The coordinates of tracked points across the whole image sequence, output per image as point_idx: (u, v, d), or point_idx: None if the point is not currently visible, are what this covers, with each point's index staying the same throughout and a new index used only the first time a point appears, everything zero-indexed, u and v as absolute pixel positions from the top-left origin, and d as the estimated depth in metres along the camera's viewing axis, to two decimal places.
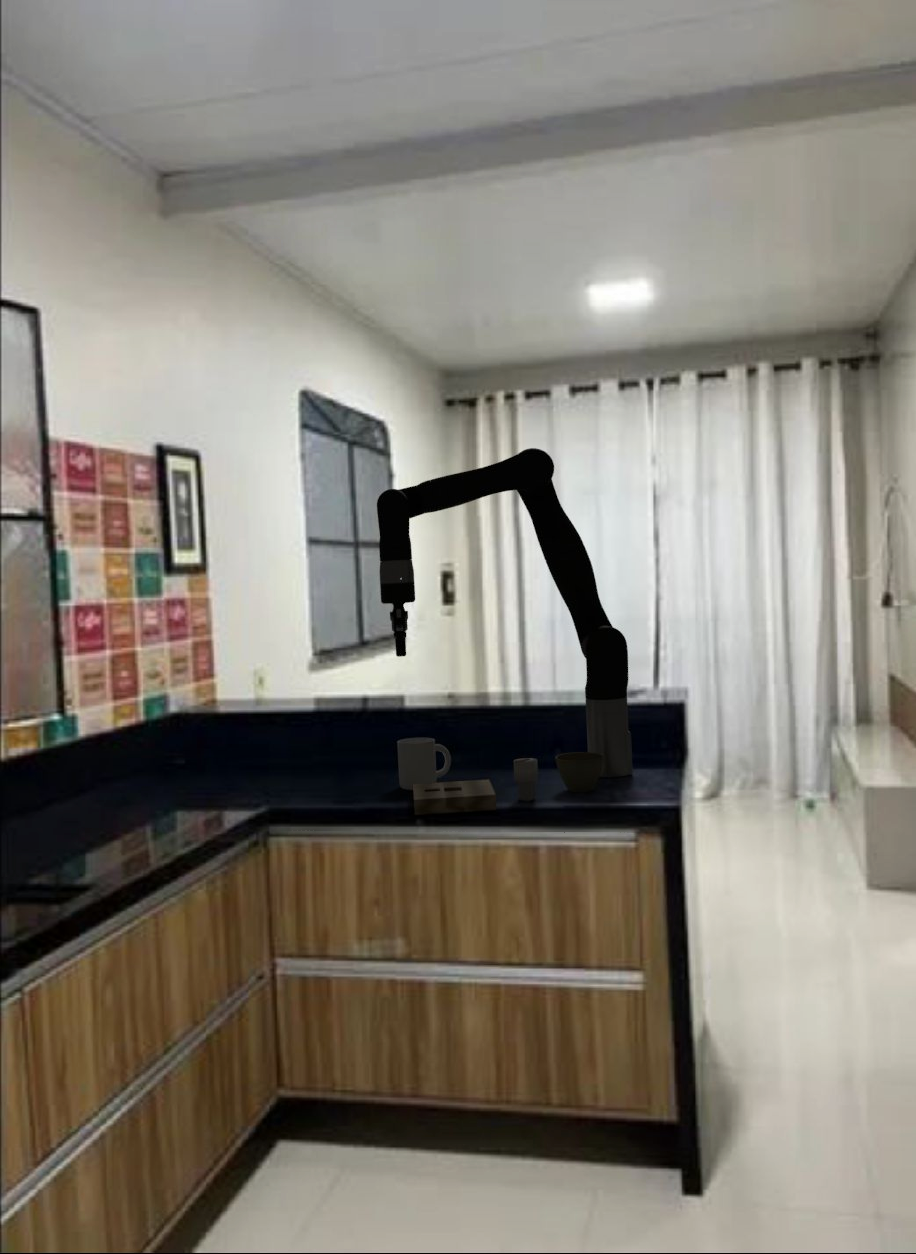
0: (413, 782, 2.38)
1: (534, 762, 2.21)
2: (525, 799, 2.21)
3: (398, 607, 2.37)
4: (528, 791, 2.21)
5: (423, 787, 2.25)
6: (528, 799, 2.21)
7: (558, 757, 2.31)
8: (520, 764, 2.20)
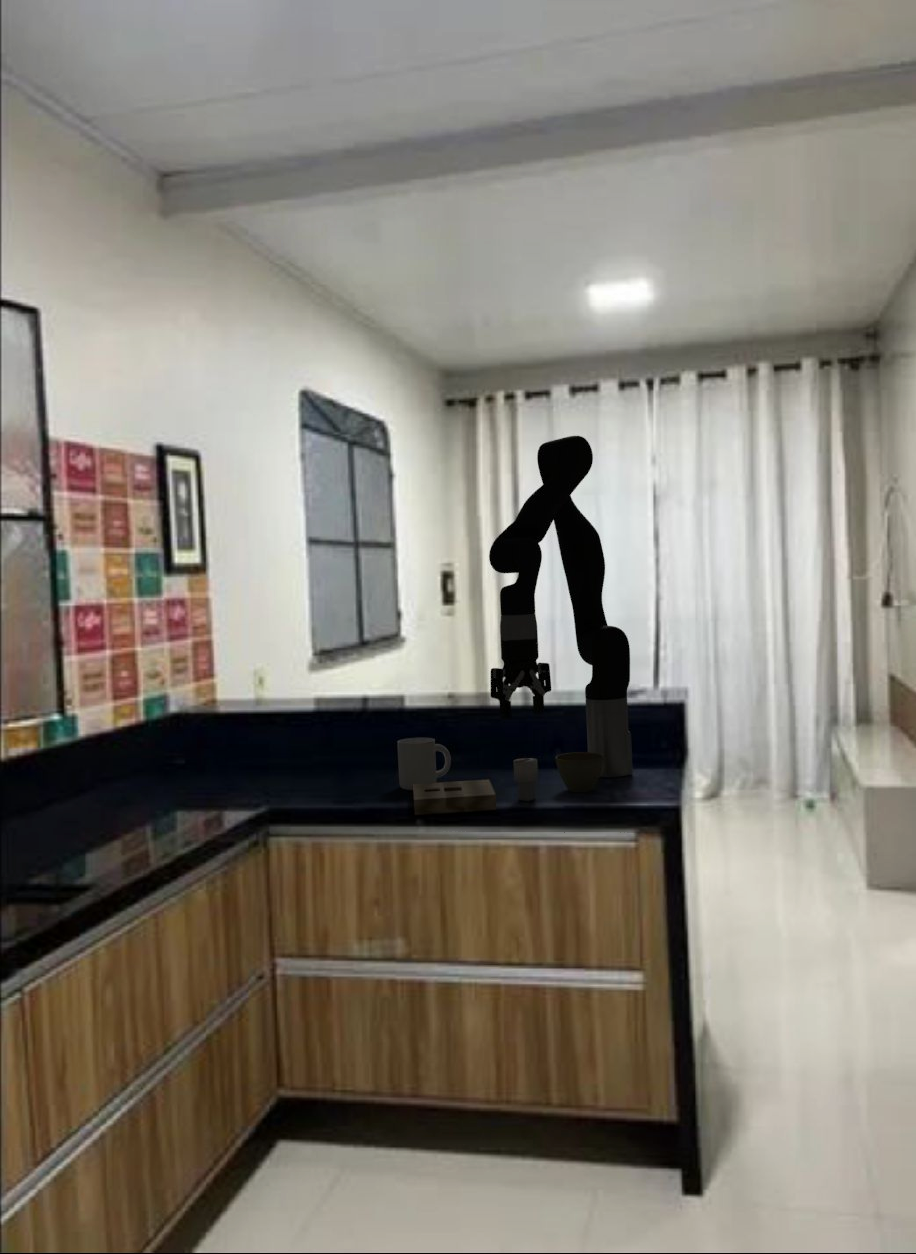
0: (413, 782, 2.38)
1: (534, 762, 2.21)
2: (525, 799, 2.21)
3: None
4: (528, 791, 2.21)
5: (423, 787, 2.25)
6: (528, 799, 2.21)
7: (558, 757, 2.31)
8: (520, 764, 2.20)
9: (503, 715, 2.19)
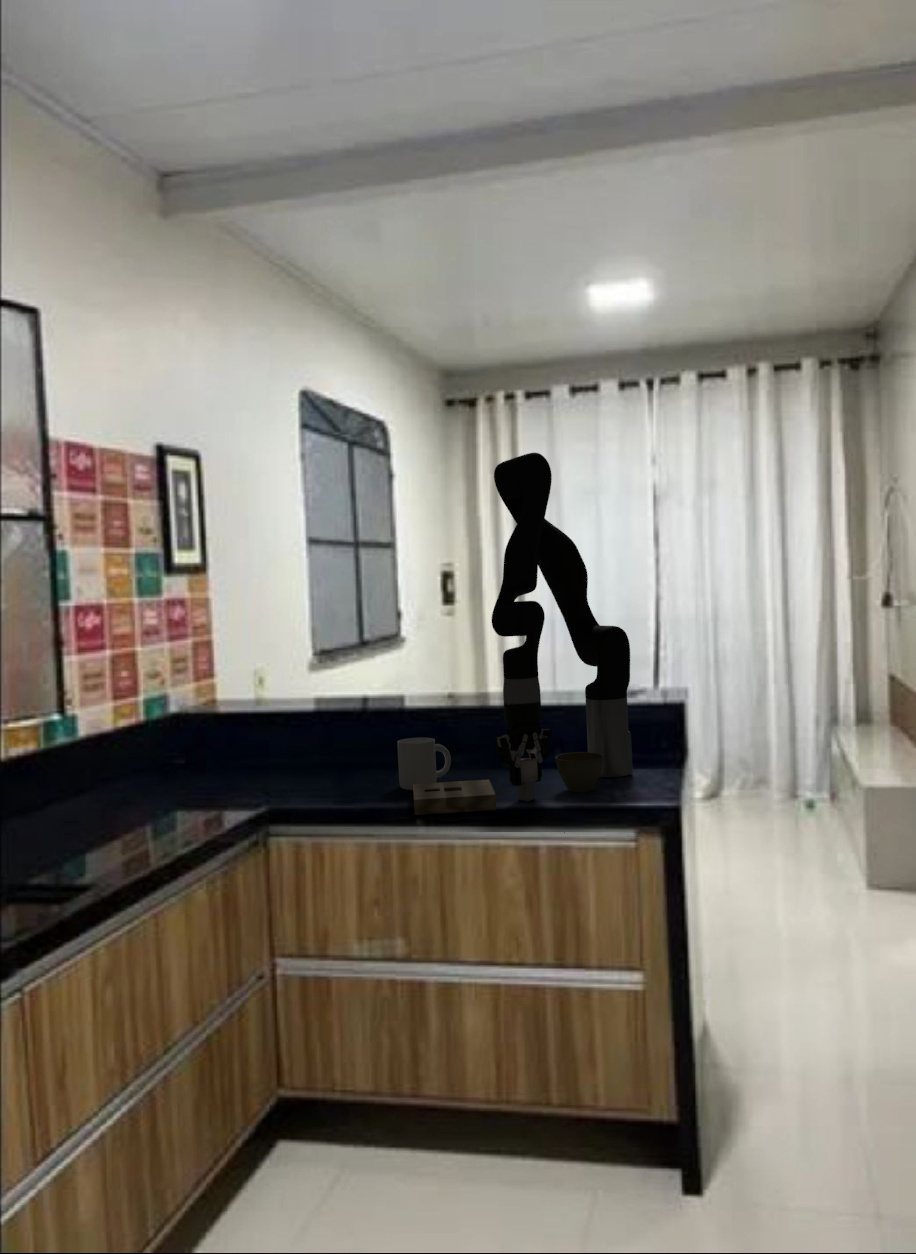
0: (413, 782, 2.38)
1: (534, 762, 2.21)
2: (525, 799, 2.21)
3: None
4: (528, 791, 2.21)
5: (423, 787, 2.25)
6: (528, 799, 2.21)
7: (558, 757, 2.31)
8: (520, 764, 2.20)
9: (513, 781, 2.20)
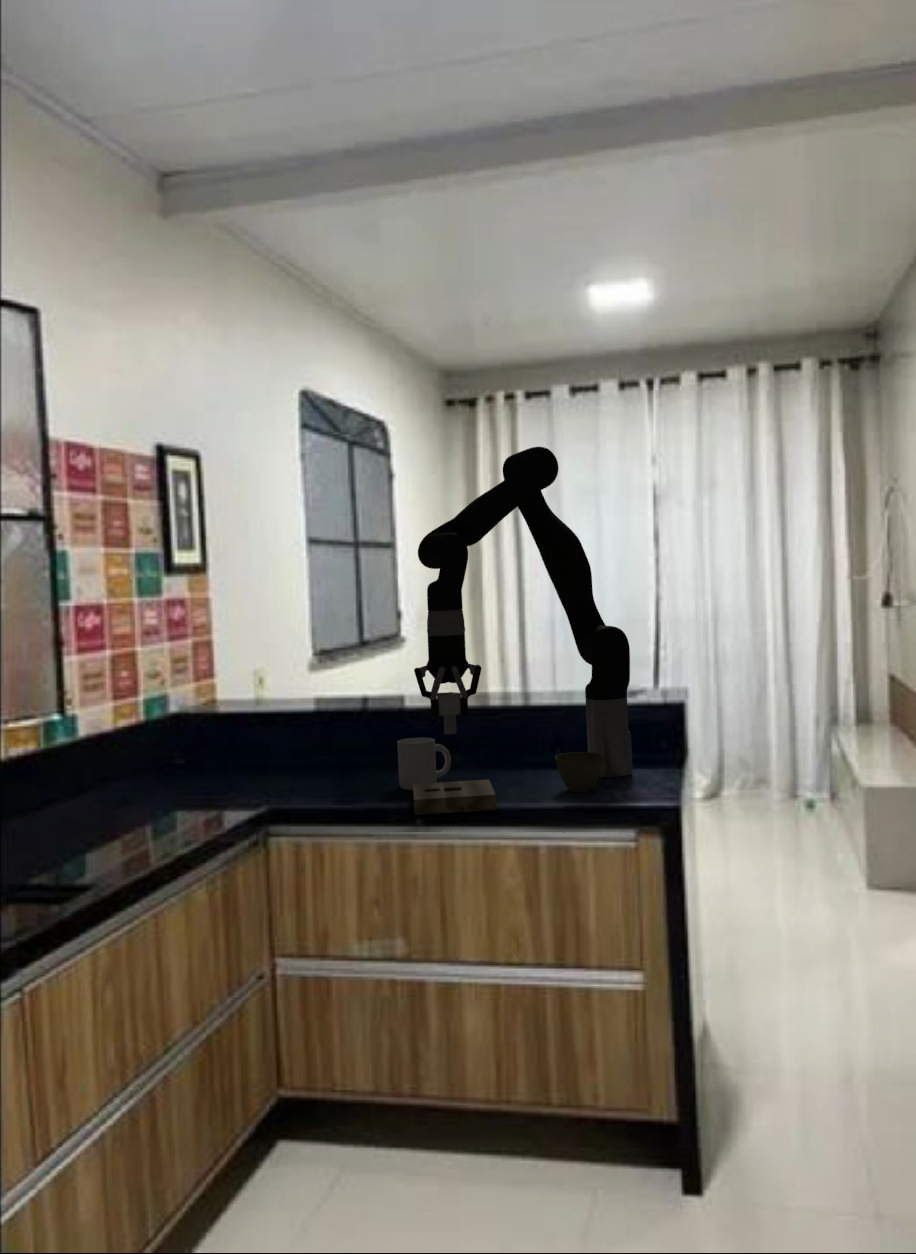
0: (413, 782, 2.38)
1: (451, 696, 2.19)
2: (444, 732, 2.20)
3: (467, 661, 2.21)
4: (447, 724, 2.20)
5: (423, 787, 2.25)
6: (447, 733, 2.20)
7: (558, 757, 2.31)
8: (438, 696, 2.20)
9: (431, 713, 2.21)
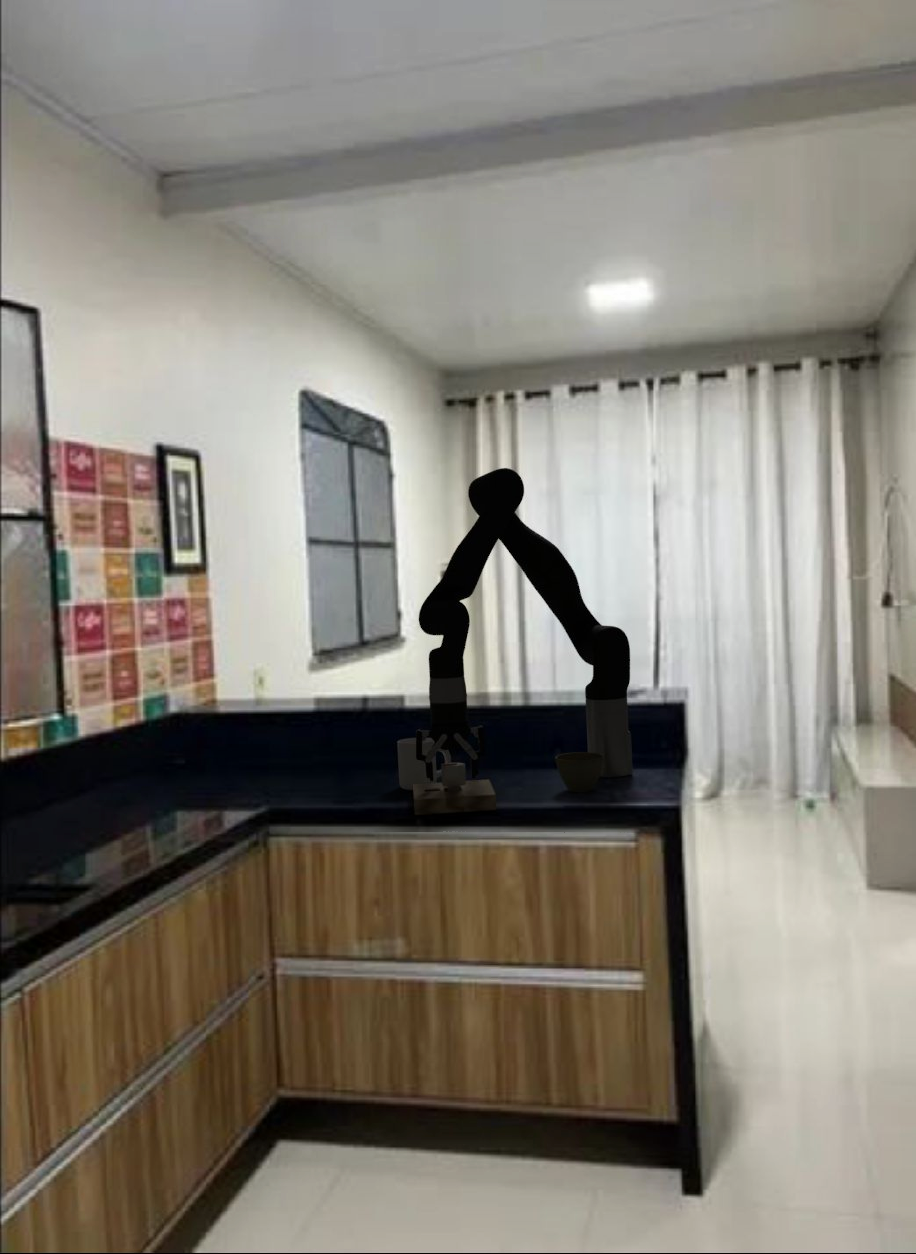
0: (413, 782, 2.38)
1: (455, 767, 2.19)
2: None
3: None
4: None
5: (423, 787, 2.25)
6: None
7: (558, 757, 2.31)
8: (442, 768, 2.21)
9: None
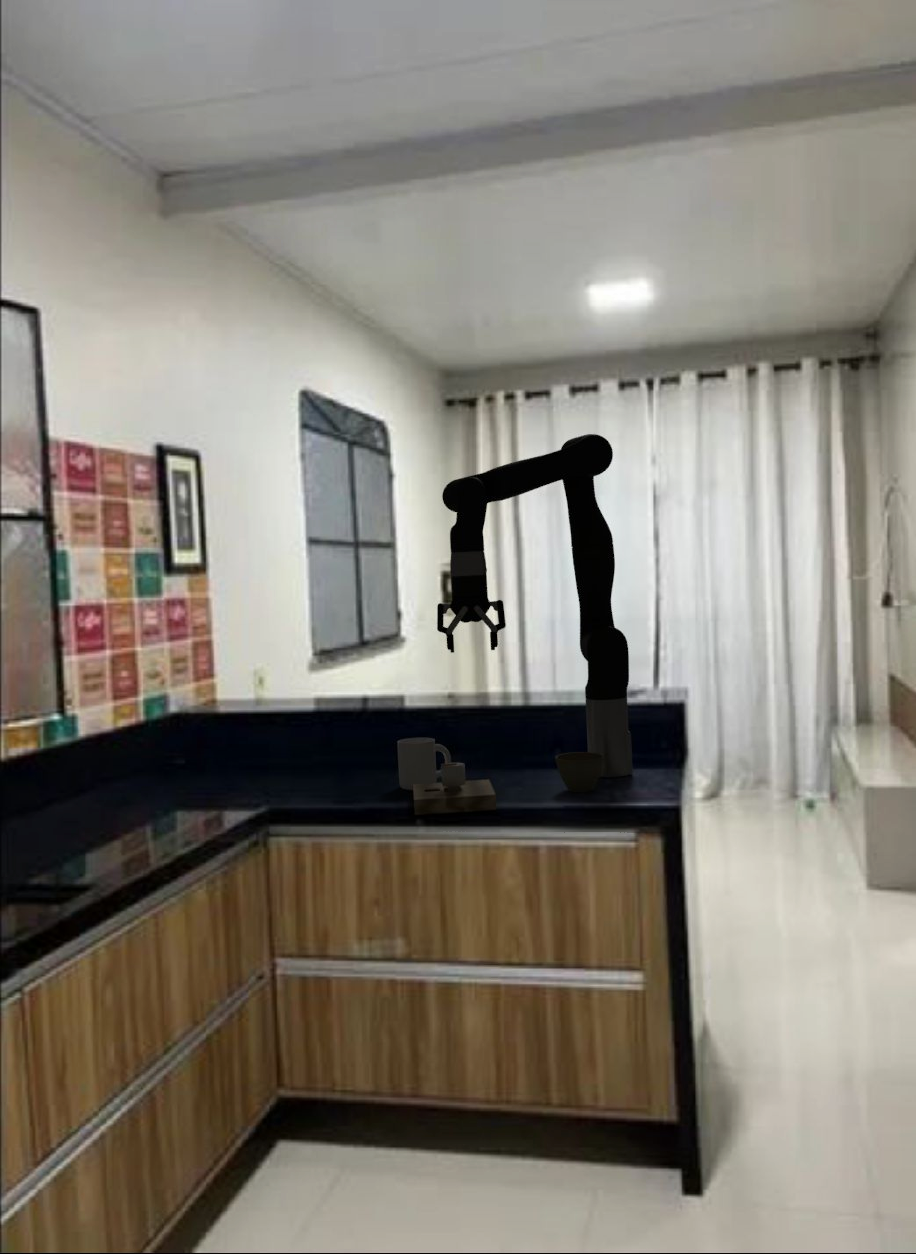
0: (413, 782, 2.38)
1: (455, 767, 2.19)
2: None
3: None
4: None
5: (423, 787, 2.25)
6: None
7: (558, 757, 2.31)
8: (442, 768, 2.21)
9: None
